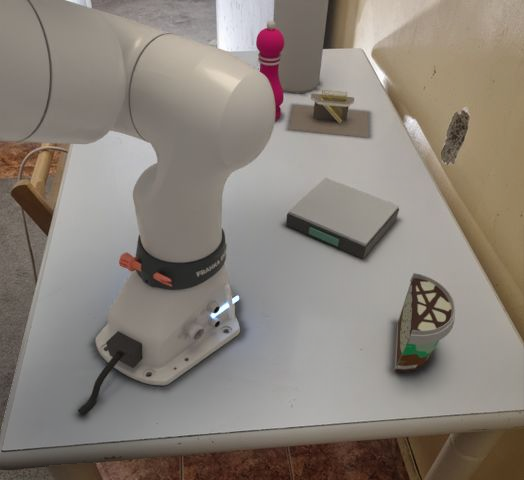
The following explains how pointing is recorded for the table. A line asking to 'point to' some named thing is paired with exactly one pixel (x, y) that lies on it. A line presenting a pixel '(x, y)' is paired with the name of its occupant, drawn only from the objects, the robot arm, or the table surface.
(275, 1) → the cylinder vase
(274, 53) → the pepper mill
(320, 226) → the kitchen scale
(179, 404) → the table surface
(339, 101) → the platform
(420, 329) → the food container
